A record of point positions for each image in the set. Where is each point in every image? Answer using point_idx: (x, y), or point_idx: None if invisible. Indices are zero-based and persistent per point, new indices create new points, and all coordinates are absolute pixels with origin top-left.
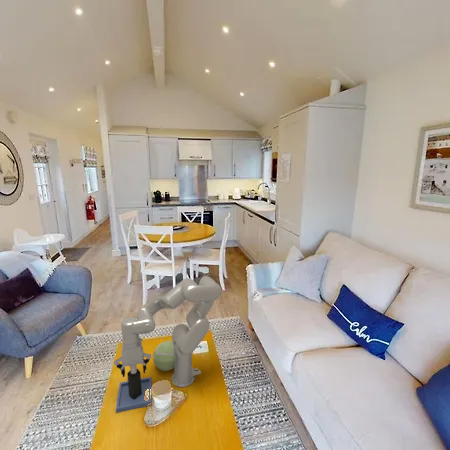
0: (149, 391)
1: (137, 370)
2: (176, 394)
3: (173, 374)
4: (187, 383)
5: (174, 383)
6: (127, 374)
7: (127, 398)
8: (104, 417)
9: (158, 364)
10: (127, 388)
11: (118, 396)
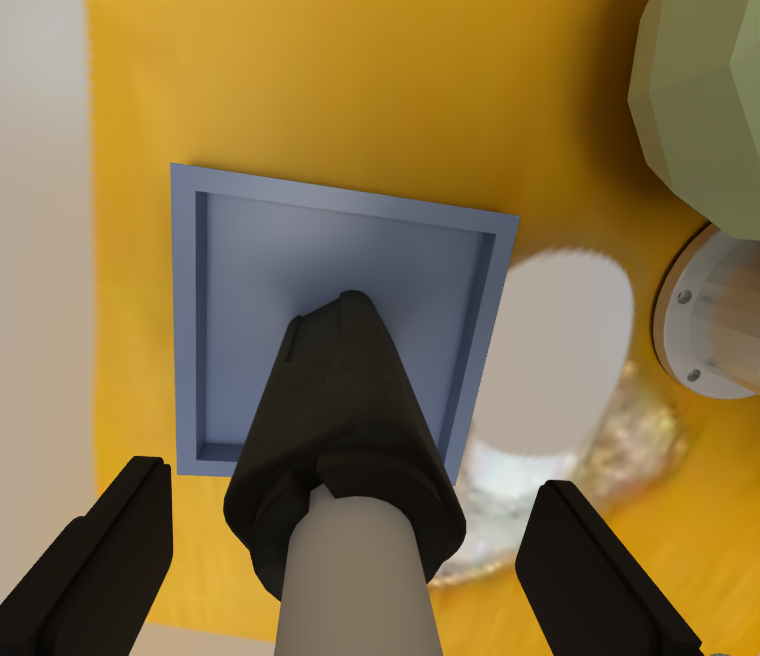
0: (463, 391)
1: (428, 540)
2: (626, 430)
3: (708, 248)
4: (747, 390)
5: (666, 353)
6: (227, 518)
7: (272, 362)
8: (103, 460)
9: (703, 172)
10: (268, 245)
11: (182, 356)
